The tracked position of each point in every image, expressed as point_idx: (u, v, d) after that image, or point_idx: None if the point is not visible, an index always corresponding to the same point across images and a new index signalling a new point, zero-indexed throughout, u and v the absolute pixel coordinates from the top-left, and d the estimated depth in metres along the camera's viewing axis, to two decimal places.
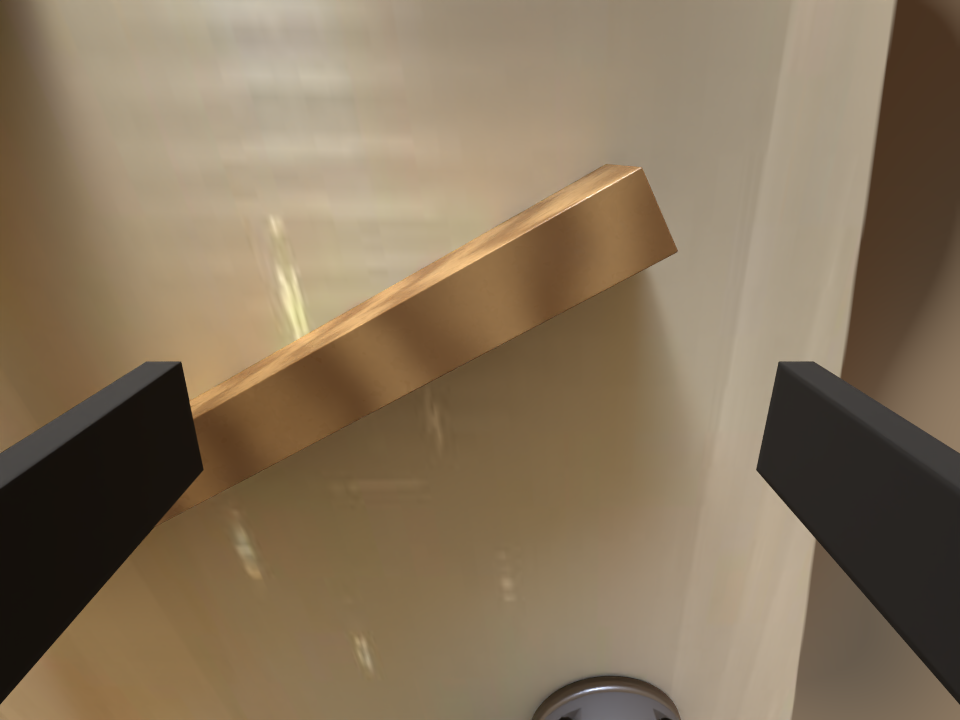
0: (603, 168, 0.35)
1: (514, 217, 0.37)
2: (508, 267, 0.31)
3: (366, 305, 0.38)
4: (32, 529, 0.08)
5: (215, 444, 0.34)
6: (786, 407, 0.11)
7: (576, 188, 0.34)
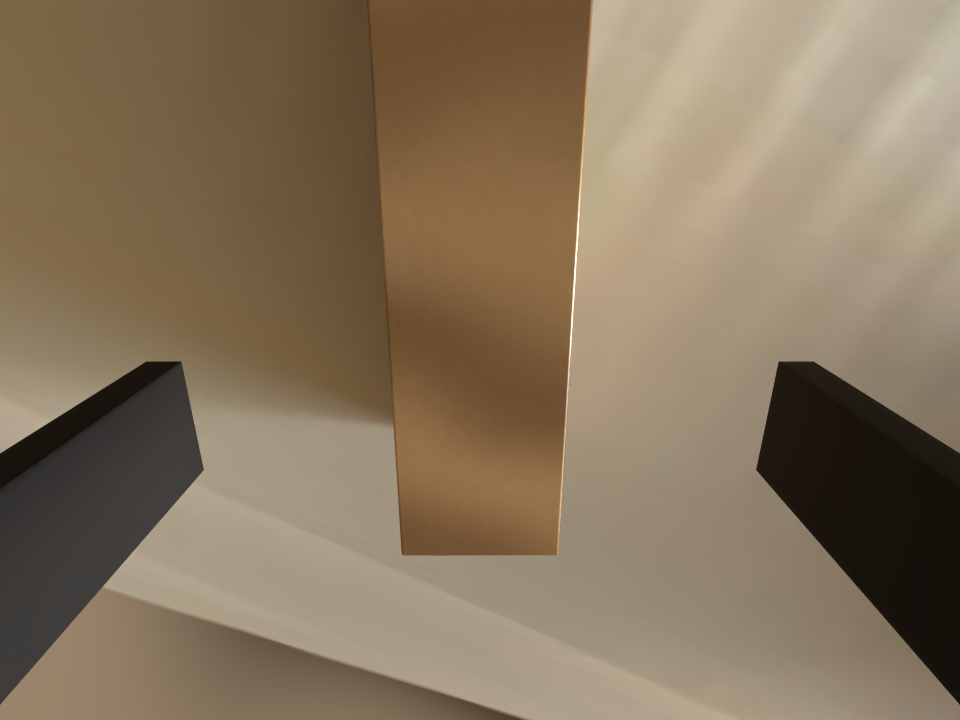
0: None
1: None
2: (528, 296, 0.15)
3: None
4: (32, 529, 0.08)
5: None
6: (786, 407, 0.11)
7: None
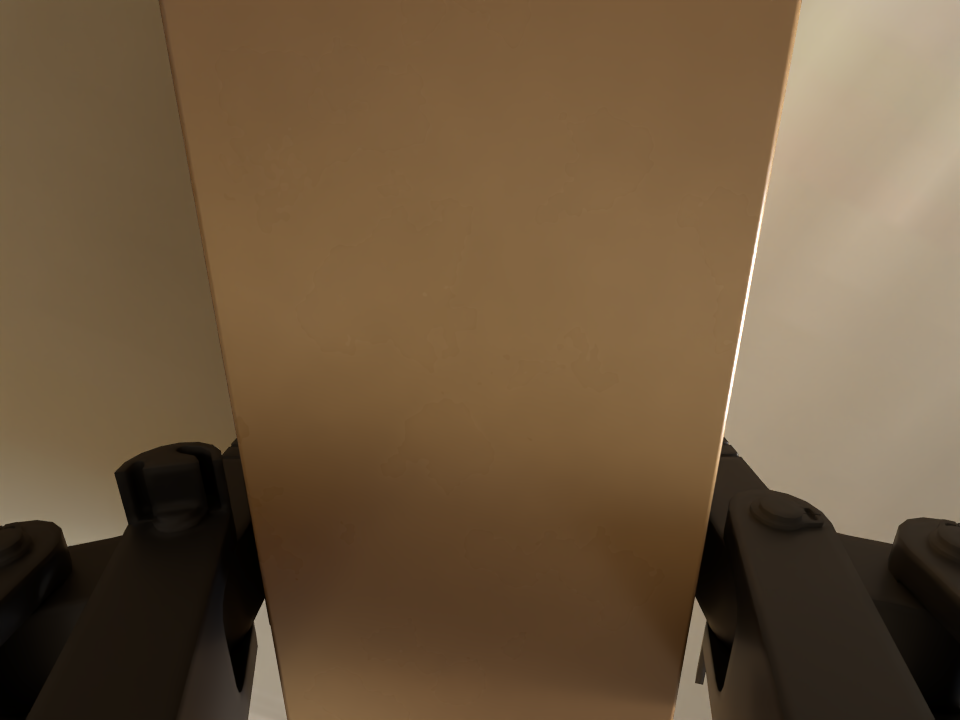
0: None
1: None
2: (598, 507, 0.06)
3: None
4: None
5: None
6: None
7: None
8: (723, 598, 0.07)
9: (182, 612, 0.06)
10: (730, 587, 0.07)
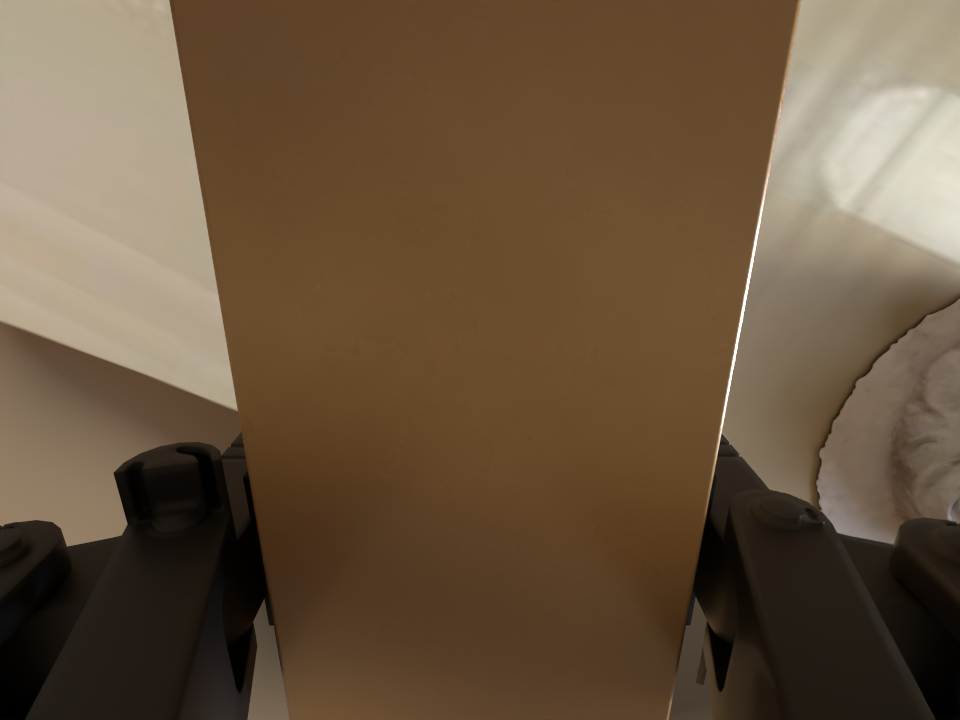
0: None
1: None
2: (596, 507, 0.06)
3: None
4: None
5: None
6: None
7: None
8: (723, 598, 0.07)
9: (182, 612, 0.06)
10: (730, 587, 0.07)
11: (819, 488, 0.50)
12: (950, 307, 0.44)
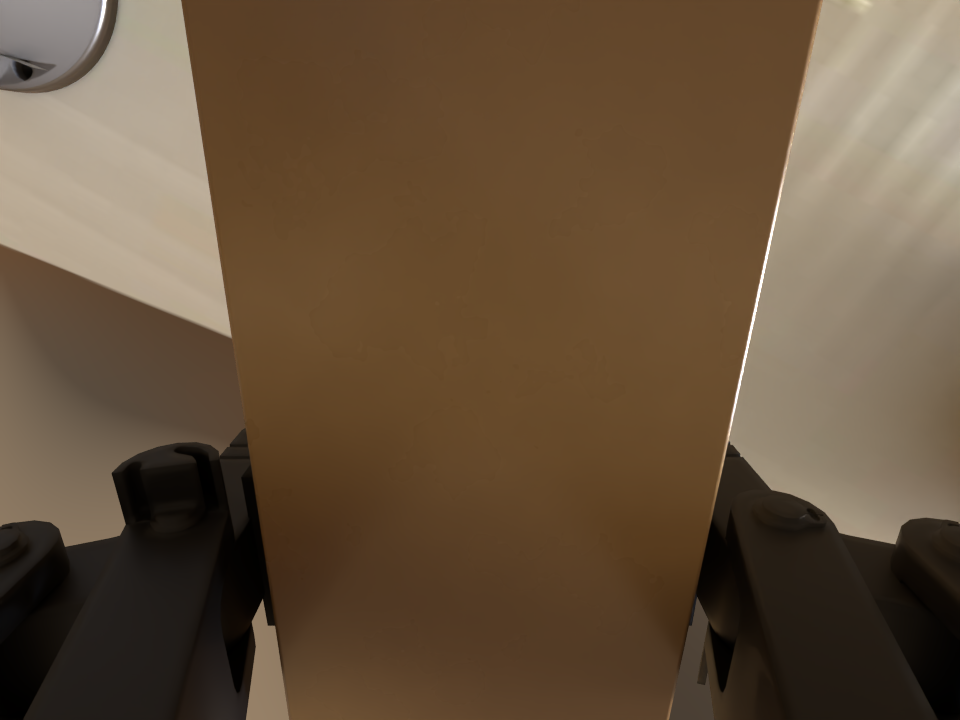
0: None
1: None
2: (602, 515, 0.06)
3: None
4: None
5: None
6: None
7: None
8: (725, 598, 0.07)
9: (180, 612, 0.06)
10: (732, 587, 0.07)
11: None
12: None
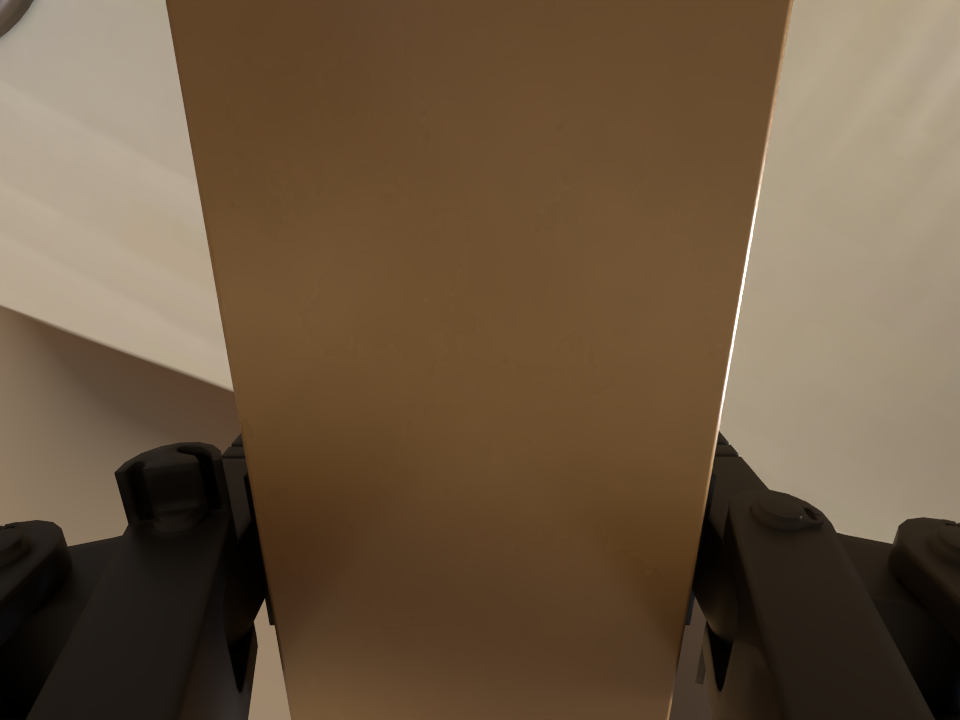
0: None
1: None
2: (594, 508, 0.06)
3: None
4: None
5: None
6: None
7: None
8: (723, 598, 0.07)
9: (183, 612, 0.06)
10: (730, 587, 0.07)
11: None
12: None
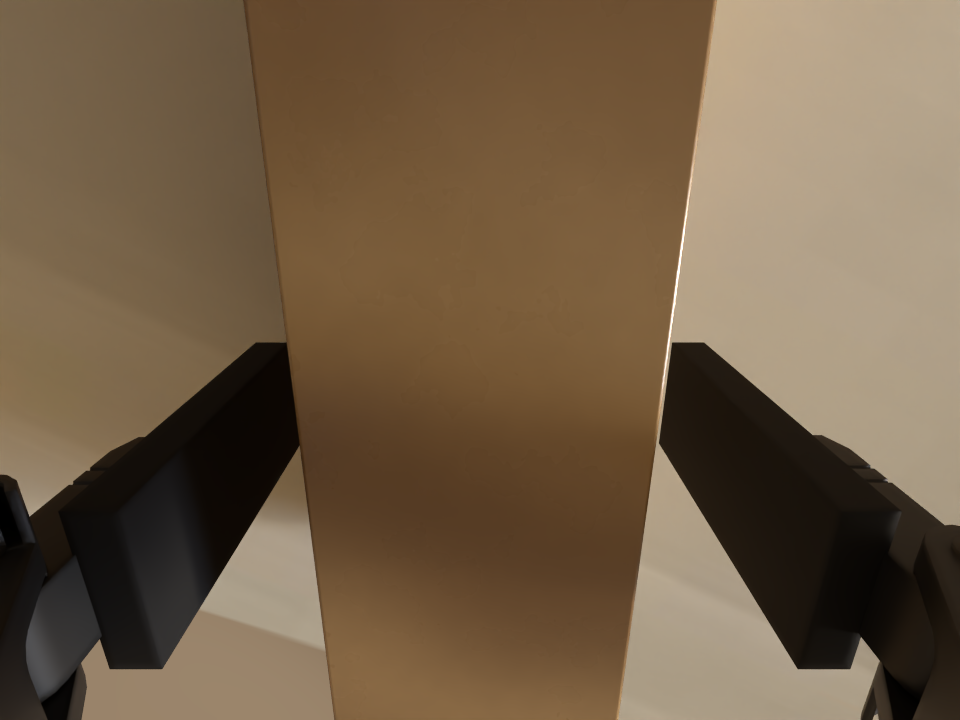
0: None
1: None
2: (570, 430, 0.08)
3: None
4: (204, 480, 0.09)
5: None
6: (677, 383, 0.13)
7: None
8: (908, 638, 0.07)
9: None
10: (918, 628, 0.07)
11: None
12: None
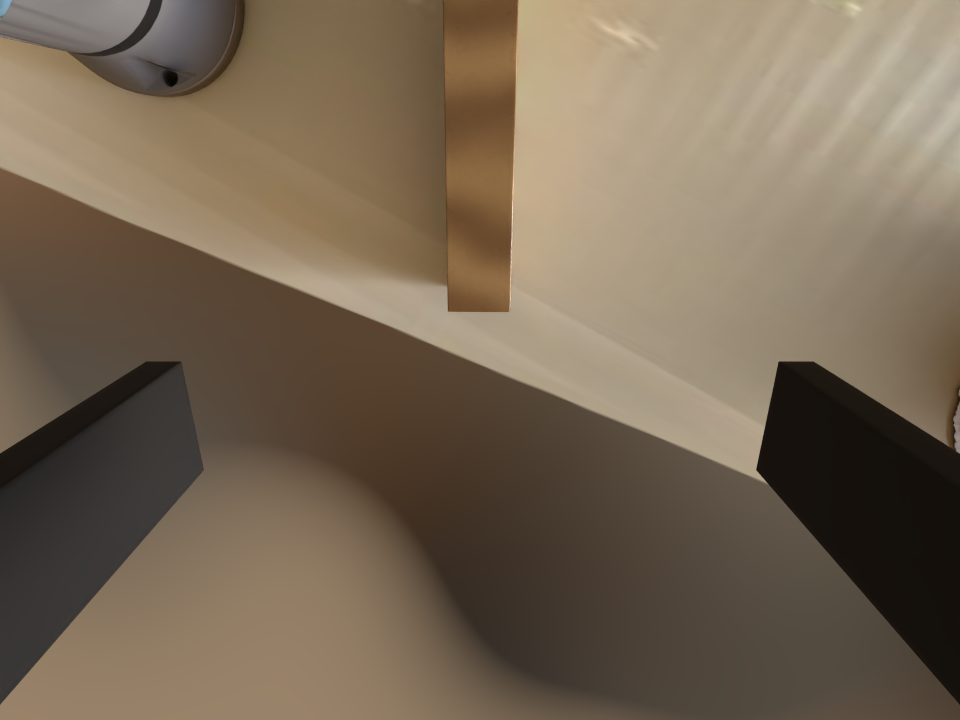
0: None
1: None
2: (496, 202, 0.42)
3: None
4: (32, 529, 0.08)
5: None
6: (786, 407, 0.11)
7: None
8: None
9: None
10: None
11: (955, 423, 0.58)
12: None
